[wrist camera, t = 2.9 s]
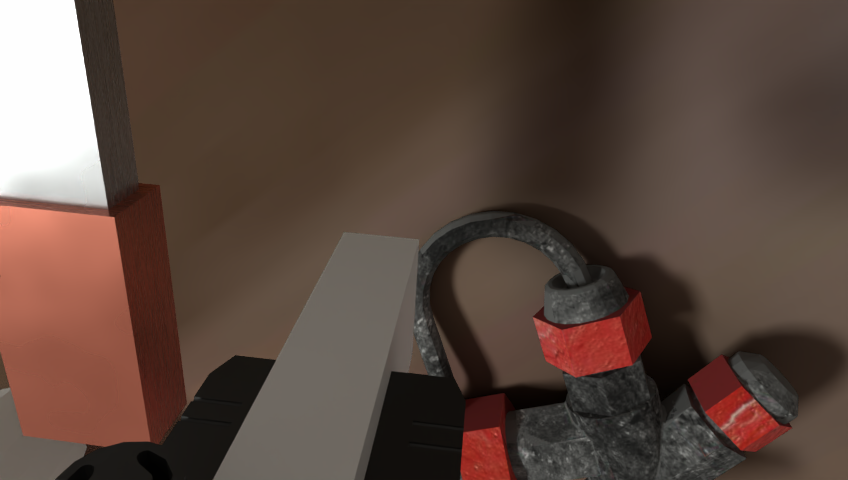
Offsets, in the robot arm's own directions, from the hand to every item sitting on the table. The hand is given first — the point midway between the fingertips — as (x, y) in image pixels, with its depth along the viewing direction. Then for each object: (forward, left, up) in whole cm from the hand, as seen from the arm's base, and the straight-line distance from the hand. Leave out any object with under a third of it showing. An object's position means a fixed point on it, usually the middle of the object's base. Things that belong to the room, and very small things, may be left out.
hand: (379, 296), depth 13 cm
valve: (-2, +11, -13) cm, 17 cm away
